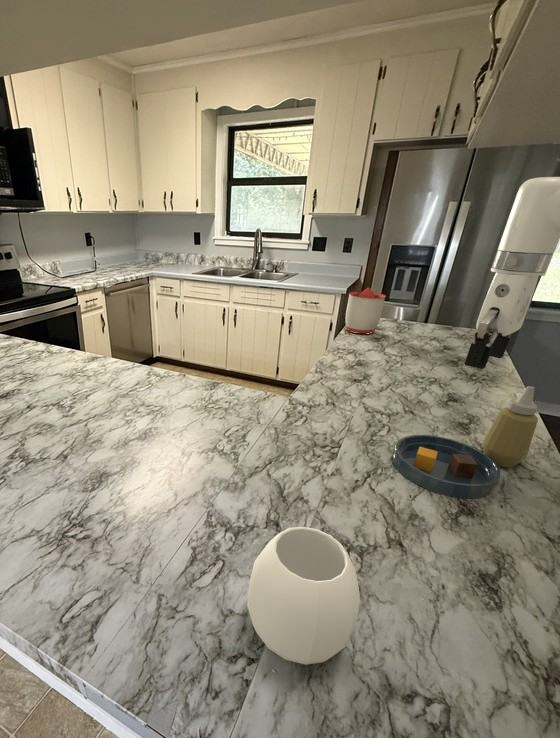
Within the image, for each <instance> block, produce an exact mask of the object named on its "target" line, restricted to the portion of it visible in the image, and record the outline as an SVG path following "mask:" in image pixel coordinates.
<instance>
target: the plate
mask: <svg viewBox="0 0 560 738" xmlns="http://www.w3.org/2000/svg"><path fill="white" fill-rule="evenodd" d="M419 447H423V448H427V449H430V450H434V451H438V453H437V457H436V460H435V463H434V466H433V469H432V472H427V471H424V470H421V469H418V468H415V467H414V462H415V459H416V456H417V453H418V450H419ZM453 454H461V455H470V456H471V457H472V458H473V459H474V460H475V461H476V463H477V464H478V466H477V468H476V471H475V473H474V476H473V478H463V477H454V475H453V474H452V473H451V471H450V470H449V468H448V465H449V463H450V460H451V457H452V455H453ZM391 459H392V465H393V466H394V468H395V469H396V470H397V472H399V473H400V474H401V475H402V476H403V477H404V478H406V479H407V480H408V481H410V482H411V483H414V485H415V484H416V485H417V486H419V487H421V488H424V489H426V490H428V491H431V492H433V493H436V494H440V495H443V496H448V497H452V498H460V499H481V498H484V497H487V496H490V495H491V494H492V493H493V492H494V491H495V490H496V488H497V485H498V483H499V481H500V479H501V469H500V466H498V465H497V464H496V463H495V462H494V461H493V460H492V459H491V458H490V457H489V456H487V455H486V454H484V453H483V452H482V451H481V450H479V449H478V448H475V447H473V446H471V445H469V444H466V443H464V442H462V441H458V440H455V439H452V438H448V437H444V436H438V435H430V434H412V435H408V436H404V437H402V438H401V439H400V438H399V440H397V442H396V444H395V445H394V449H393V453H392V457H391Z"/></svg>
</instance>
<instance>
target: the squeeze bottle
mask: <svg viewBox="0 0 560 738" xmlns="http://www.w3.org/2000/svg"><path fill="white" fill-rule="evenodd" d="M534 393H535V387H534V386H531V385H527V386H526V387H525V389H524V390H523V391H522V393H521V394H520V396H519V397H518V398H512V399H510V400H509V403H508V405H507V407H503V408H502V409H500V410H499V412H498V414H497V416H496V418H495V419H494V421H493V422H492V425H491V426H490V428H489V430H488V431H487V433H486V435H485V437H484V439H483V442H482V449H483V452H482V453H484V454H486V455H487V456H489V457H490V458H491V459H492V460H493V461H494V462H495V463H496V464H497V466H498V467H502V468H514V467H515V466H517V465H518V464H519V463H520V462H521V461H522V460H523V459H524V458H526V457H527V456H528V453H529V450H530V446H531V444H532V441H533V437H534V434H535V430H536V427H537V425H538V421H539V418H538V416H537V415H535V414H536V412H537V409H538V408H539V407H538V405H537V404H536V403H534Z"/></svg>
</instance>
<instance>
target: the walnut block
mask: <svg viewBox="0 0 560 738" xmlns="http://www.w3.org/2000/svg"><path fill="white" fill-rule="evenodd" d="M477 466H478V464H477V463H476V461H475V460H474V459H473V458H472V457H471V456H470V455H461V454H453V455H452V457H451V460H450V463H449V465H448V468H449V470H450V471H451V473H452V474H453V475H454V477H463V478H473V476H474V473H475V471H476V468H477Z"/></svg>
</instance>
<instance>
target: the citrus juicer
mask: <svg viewBox="0 0 560 738" xmlns="http://www.w3.org/2000/svg"><path fill="white" fill-rule="evenodd" d="M386 297H387V296H386V295H385V294H383V293H379V292H373V290H372V289H371V287H367V288H365V289H364V290H363V291H361V292H360V294H359V293H358V292H357V291H351V292H349V293H348V300H347V304H346V305H347V306H346V309H345V310H346V311H345V329H346V328H347V329H346V331H347V330H349V331H353V332H358V333H370V332H373V331H376V328H377V326H378V324H379V322H380V320H381V316H382V312H383V308H384V304H385V298H386ZM349 331H348V332H349ZM373 333H374V332H373Z"/></svg>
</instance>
